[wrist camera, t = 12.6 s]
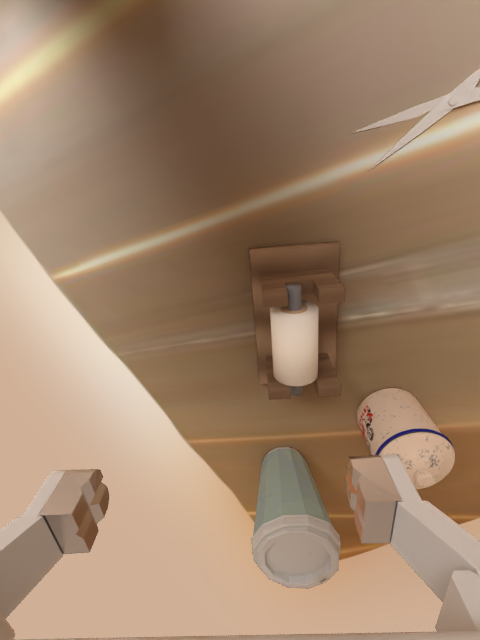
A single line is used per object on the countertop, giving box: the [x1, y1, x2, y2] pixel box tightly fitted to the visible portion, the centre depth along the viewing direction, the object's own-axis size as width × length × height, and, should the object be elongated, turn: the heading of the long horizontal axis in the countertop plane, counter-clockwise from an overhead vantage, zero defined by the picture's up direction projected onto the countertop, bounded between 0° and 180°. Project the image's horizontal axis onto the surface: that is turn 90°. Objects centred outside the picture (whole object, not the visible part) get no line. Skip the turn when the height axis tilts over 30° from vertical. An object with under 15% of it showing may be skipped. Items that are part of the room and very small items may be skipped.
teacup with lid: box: [357, 388, 455, 489], centre depth 42 cm, size 12×9×12 cm
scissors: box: [353, 68, 480, 169], centre depth 31 cm, size 11×1×20 cm
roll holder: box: [249, 242, 345, 400], centre depth 38 cm, size 18×10×8 cm, turn 5°
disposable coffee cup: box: [251, 447, 341, 589], centre depth 44 cm, size 11×11×15 cm
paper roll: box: [270, 283, 319, 396], centre depth 36 cm, size 13×5×5 cm
